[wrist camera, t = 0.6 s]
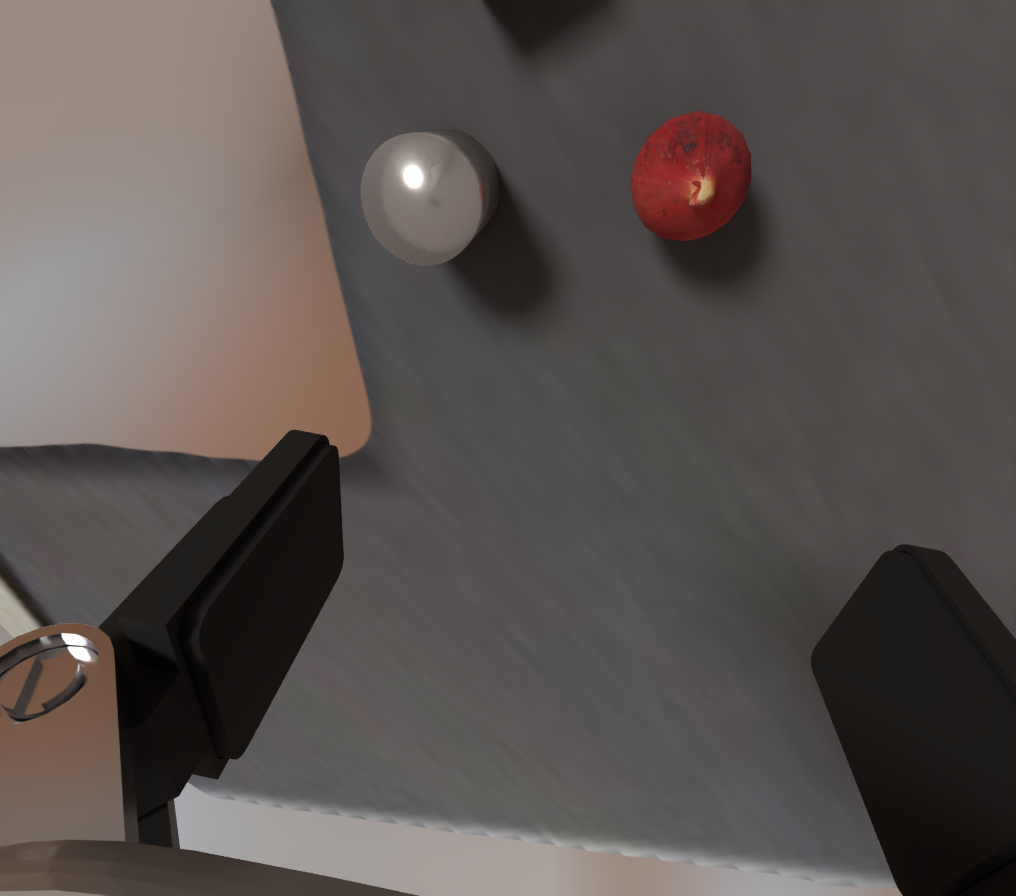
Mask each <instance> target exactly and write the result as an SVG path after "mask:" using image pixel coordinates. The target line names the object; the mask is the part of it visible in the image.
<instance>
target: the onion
mask: <svg viewBox="0 0 1016 896" xmlns="http://www.w3.org/2000/svg"><path fill="white" fill-rule="evenodd" d="M750 181H751V154H750V152H749V149H748V147H747V144H746V142H745V139H744V137H743V134H742V133H741V132H740V131H739V130H738V129H736V128H735V127H734V126H733V125H732V124H731V123H729V122H728V121H727V120H726V119H725V118H724V117H722V116H718V115H713V114H709V113H705V112H701V111H695V112H692V113H688V114H685V115H681V116H678V117H674V118H670V119H669V120H668V121H667V122H666V123H664V124H663V125H662V126H661V127H660V128H658V129H657V130H656V131H655V132H654V133H652V134H651V135H650V136H649V137H648V138H647V140H646V142H645V143H644V145H643V147H642V149H641V151H640V153H639V154H638V156H637V158H636V160H635V163H634V168H633V174H632V179H631V185H630V187H631V193H632V198H633V204H634V209H635V210H636V212H637V214H638V215H639V217H640V219H641V221H642V222H643V224H644V226H645V227H646V228H648V229H649V230H651V231H652V232H654V233H655V234H657V235H658V236H660V237H661V238H664V239H671V240H679V241H689V240H693V239H697V238H701V237H705V236H708V235H709V234H711V233H712V232H714V231H716V230H717V229H719V228H720V227H722V226H723V225H725V224H726V223H728V222H729V220H730V219H731V218H732V216H733V215H734V214H735V213H736V211H737V210H738V209H739V207H740V206H741V205H742V204H743V202H744V199H745V196H746V193H747V190H748V187H749V184H750Z"/></svg>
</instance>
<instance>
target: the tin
mask: <svg viewBox="0 0 1016 896" xmlns="http://www.w3.org/2000/svg"><path fill="white" fill-rule="evenodd" d="M499 190H500V189H499V178H498V173H497V169H496V166H495V164H494V162H493V160H492V158H491V156H490V154H489V153H488V152H487V150H486V149H485V148H484V147H483V146H482V144H481V143H479V142H478V141H477V140H476V139H475V138H473V137H471V136H470V135H468V134H466V133H463V132H460V131H456V130H435V131H426V132H416V133H407V134H402V135H398V136H396V137H393V138H391V139H389V140H388V141H386V142H384V143H383V144H382V145H381V146H379V147H378V148H377V150H376V151H375V152H374V153H373V154H372V156H371V157H370V159H369V161H368V163H367V165H366V167H365V170H364V173H363V177H362V182H361V203H362V209H363V213H364V216H365V219H366V221H367V224H368V226H369V228H370V230H371V232H372V233H373V235H374V236H375V238H376V239H377V240H378V242H379V243H380V244H381V245H382V246H383V247H384V248H385V249H386V250H387V251H388V252H390V253H391V254H392V255H394V256H395V257H397V258H399V259H401V260H403V261H405V262H408V263H411V264H415V265H421V266H431V265H438V264H441V263H444V262H447V261H449V260H451V259H452V258H454V257H455V256H457V255H458V254H459V253H460V252H461V251H463V250H464V248H465V247H466V246H467V245H468V244H469V243H470V242H471V241H472V240H473V239H474V238H475V237H476V236H477V234H478V233H479V232H480V231H481V230H482V229H483V228H484V227H485V226H486V225H487V223H488V222H489V221H490V219H491V218H492V216H493V214H494V212H495V210H496V207H497V204H498V199H499Z"/></svg>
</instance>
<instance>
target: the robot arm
mask: <svg viewBox="0 0 1016 896" xmlns="http://www.w3.org/2000/svg"><path fill="white" fill-rule="evenodd" d="M343 560H344V552H343V532H342V513H341V493H340V473H339V454H338V449H337V447H336V446H333V445H330V444H329V440H328V438H327V437H326V436H325V435H320V434H315V433H310V432H304V431H299V430H291V431H289V432H288V433H287V434H286V435H285V436H284V437H283V438H282V439H281V440H280V441H279V443H278V444H277V445H276V446H275V447H274V448H273V449H272V450H271V451H270V452H269V453H268V455H267V456H266V457H265V458H264V459H263V460H262V461H261V462H260V463H259V464H258V465H257V466H256V467H255V468H254V469H253V471H252V472H251V473H250V474H249V475H248V476H247V477H246V478H245V479H244V480H243V481H242V482H241V483H240V485H239V486H238V487H237V488H236V489H235V490H234V491H233V492H232V493H231V494H230V495H229V496H226V497H223V498H222V499H220V500H219V501H218V502H217V503H216V504H215V505H214V506H213V507H212V508H211V509H210V510H209V511H208V512H207V513H206V514H205V515H204V516H203V517H202V518H201V519H200V520H199V522H198V523H197V524H196V525H195V526H194V527H193V528H192V529H191V530H190V531H189V532H188V533H187V534H186V535H185V536H184V537H183V538H182V539H181V541H180V542H179V543H178V544H177V545H176V546H175V547H174V548H173V549H172V550H171V551H170V552H169V553H168V554H167V555H166V556H165V557H164V559H163V560H162V561H161V562H160V563H159V564H158V565H157V566H156V567H155V568H154V569H153V570H152V571H151V572H150V573H149V574H148V575H147V577H146V578H145V579H144V580H143V581H142V582H141V583H140V584H139V585H138V586H137V587H136V588H135V589H134V590H133V591H132V592H131V593H130V595H129V596H128V597H127V598H126V599H125V600H124V601H123V602H122V603H121V604H120V605H119V606H118V607H117V608H116V609H115V610H114V611H113V613H112V614H111V615H110V616H109V617H108V618H107V619H106V620H105V621H104V622H103V623H102V624H101V625H100V626H99V627H98V628H96V627H93V626H90V625H86V624H83V623H62V624H57V625H52V626H47V627H42V628H39V629H36V630H33V631H31V632H28V633H26V634H23V635H20V636H18V637H15V638H14V639H12V640H10V641H8V642H7V643H5V644H3V645H1V646H0V896H417V895H413V894H408V893H403V892H398V891H394V890H389V889H385V888H380V887H375V886H371V885H366V884H361V883H356V882H351V881H347V880H342V879H338V878H333V877H328V876H323V875H318V874H313V873H307V872H302V871H297V870H292V869H286V868H281V867H276V866H271V865H266V864H261V863H256V862H250V861H245V860H240V859H235V858H230V857H224V856H219V855H214V854H208V853H204V852H198V851H193V850H185V849H180V845H179V837H178V829H177V821H176V813H175V805H174V798H176V797H178V796H179V795H180V793H181V792H182V790H183V788H184V787H185V785H186V783H187V782H188V780H189V778H190V777H191V775H192V774H194V775H199V776H203V777H208V778H213V779H218V778H219V776H220V775H221V773H222V771H223V769H224V767H225V766H226V764H227V762H228V760H229V758H230V759H238V758H239V757H241V756H242V754H243V753H244V752H245V750H246V748H247V747H248V745H249V743H250V741H251V739H252V738H253V736H254V734H255V732H256V730H257V728H258V726H259V725H260V723H261V721H262V719H263V717H264V715H265V713H266V712H267V710H268V708H269V706H270V704H271V702H272V700H273V698H274V697H275V695H276V693H277V691H278V689H279V687H280V685H281V684H282V682H283V680H284V678H285V676H286V674H287V672H288V670H289V669H290V667H291V665H292V663H293V661H294V659H295V657H296V656H297V654H298V652H299V650H300V648H301V646H302V644H303V643H304V641H305V639H306V637H307V635H308V633H309V631H310V629H311V628H312V626H313V624H314V622H315V620H316V618H317V616H318V615H319V613H320V611H321V609H322V607H323V605H324V603H325V602H326V600H327V598H328V596H329V594H330V592H331V590H332V588H333V587H334V585H335V583H336V581H337V579H338V577H339V575H340V572H341V569H342V566H343ZM811 667H812V670H813V673H814V676H815V678H816V681H817V684H818V686H819V689H820V691H821V694H822V696H823V699H824V701H825V704H826V707H827V709H828V712H829V714H830V717H831V719H832V722H833V724H834V727H835V730H836V732H837V735H838V737H839V740H840V742H841V745H842V747H843V750H844V753H845V755H846V758H847V760H848V763H849V765H850V768H851V770H852V773H853V776H854V778H855V781H856V783H857V786H858V788H859V791H860V793H861V796H862V799H863V801H864V804H865V806H866V809H867V811H868V814H869V816H870V819H871V822H872V824H873V827H874V829H875V832H876V834H877V837H878V840H879V842H880V845H881V847H882V850H883V852H884V855H885V857H886V860H887V863H888V865H889V868H890V870H891V873H892V875H893V878H894V880H895V883H896V885H897V887H898V889H899V891H900V892H901V894H902V895H903V896H1016V639H1015V638H1014V637H1013V636H1012V634H1011V633H1010V632H1009V631H1008V629H1007V628H1006V627H1005V626H1004V624H1003V623H1002V622H1001V620H1000V619H999V618H998V617H997V615H996V614H995V613H994V612H993V610H992V609H991V608H990V607H989V605H988V604H987V603H986V602H985V600H984V599H983V598H982V597H981V595H980V594H979V593H978V592H977V590H976V589H975V588H974V586H973V585H972V584H971V583H970V581H969V580H968V579H967V578H966V576H965V575H964V574H963V573H962V571H961V570H960V569H959V568H958V566H957V565H956V564H955V563H954V561H953V560H952V559H951V558H950V557H949V556H948V555H947V554H946V553H944V552H942V551H939V550H934V549H928V548H923V547H918V546H912V545H907V544H905V545H899V546H897V547H895V548H894V549H893V550H892V551H887V552H885V553H883V554H882V555H881V557H880V558H879V559H878V561H877V562H876V563H875V565H874V566H873V568H872V569H871V570H870V572H869V573H868V575H867V576H866V577H865V579H864V580H863V581H862V583H861V584H860V586H859V587H858V588H857V590H856V591H855V592H854V594H853V595H852V597H851V598H850V599H849V601H848V602H847V604H846V605H845V606H844V608H843V609H842V610H841V612H840V613H839V615H838V616H837V617H836V619H835V620H834V621H833V623H832V624H831V626H830V627H829V628H828V630H827V631H826V633H825V634H824V635H823V637H822V638H821V639H820V641H819V642H818V644H817V645H816V646H815V648H814V650H813V652H812V656H811Z"/></svg>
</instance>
